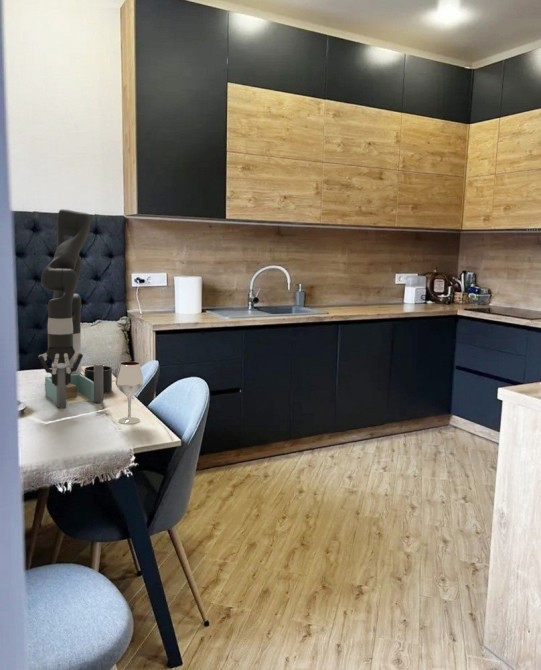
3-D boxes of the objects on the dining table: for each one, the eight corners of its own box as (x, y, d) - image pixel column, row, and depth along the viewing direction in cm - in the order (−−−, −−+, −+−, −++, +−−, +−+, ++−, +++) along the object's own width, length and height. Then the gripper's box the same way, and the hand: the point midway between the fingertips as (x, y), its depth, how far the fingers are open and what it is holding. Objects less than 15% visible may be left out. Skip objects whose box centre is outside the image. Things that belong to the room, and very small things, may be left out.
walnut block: (59, 396, 192) (59, 385, 191) (70, 394, 195) (70, 383, 194) (66, 399, 189) (66, 387, 189) (76, 396, 192) (76, 385, 192)
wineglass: (132, 415, 176) (132, 359, 173) (148, 421, 171) (149, 363, 168) (110, 420, 169) (110, 363, 167) (126, 426, 164) (126, 367, 162)
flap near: (64, 403, 183) (64, 365, 181) (67, 407, 179) (66, 368, 177) (55, 404, 182) (54, 366, 180) (57, 408, 177) (56, 369, 175)
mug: (110, 387, 210) (110, 363, 209) (112, 395, 199) (112, 370, 198) (84, 388, 207) (83, 364, 206) (85, 396, 196) (84, 371, 194)
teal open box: (45, 396, 193) (45, 377, 192) (80, 392, 200) (79, 373, 199) (57, 406, 182) (57, 385, 181) (93, 401, 189) (93, 381, 188)
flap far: (98, 403, 185) (97, 366, 183) (88, 401, 187) (88, 364, 185) (105, 402, 187) (105, 364, 185) (95, 399, 190) (95, 362, 188)
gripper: (81, 329, 182) (82, 380, 185) (35, 330, 176) (36, 383, 178) (85, 332, 176) (85, 385, 178) (37, 334, 169) (38, 389, 172)
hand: (61, 384), depth 178 cm, fingers closed on flap near, 3 cm apart
